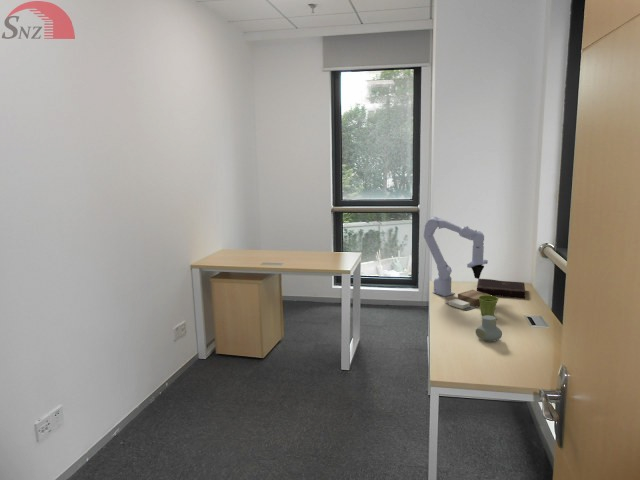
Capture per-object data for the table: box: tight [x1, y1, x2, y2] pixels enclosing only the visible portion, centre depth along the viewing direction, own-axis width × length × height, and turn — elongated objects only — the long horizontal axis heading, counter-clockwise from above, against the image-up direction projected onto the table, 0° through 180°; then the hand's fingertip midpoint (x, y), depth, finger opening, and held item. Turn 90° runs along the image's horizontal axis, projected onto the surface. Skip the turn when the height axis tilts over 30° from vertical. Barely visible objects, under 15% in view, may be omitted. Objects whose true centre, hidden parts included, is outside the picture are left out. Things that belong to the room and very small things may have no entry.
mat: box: [445, 301, 478, 312], centre depth 248 cm, size 14×8×1 cm, turn 33°
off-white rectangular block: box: [448, 298, 470, 310], centre depth 247 cm, size 9×6×2 cm, turn 34°
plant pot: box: [478, 295, 499, 317], centre depth 233 cm, size 9×9×9 cm
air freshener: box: [475, 315, 503, 343], centre depth 205 cm, size 11×8×10 cm
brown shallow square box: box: [457, 289, 491, 308], centre depth 254 cm, size 12×12×4 cm
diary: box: [476, 278, 526, 299], centre depth 269 cm, size 19×25×5 cm
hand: (476, 278), depth 260 cm, fingers closed
